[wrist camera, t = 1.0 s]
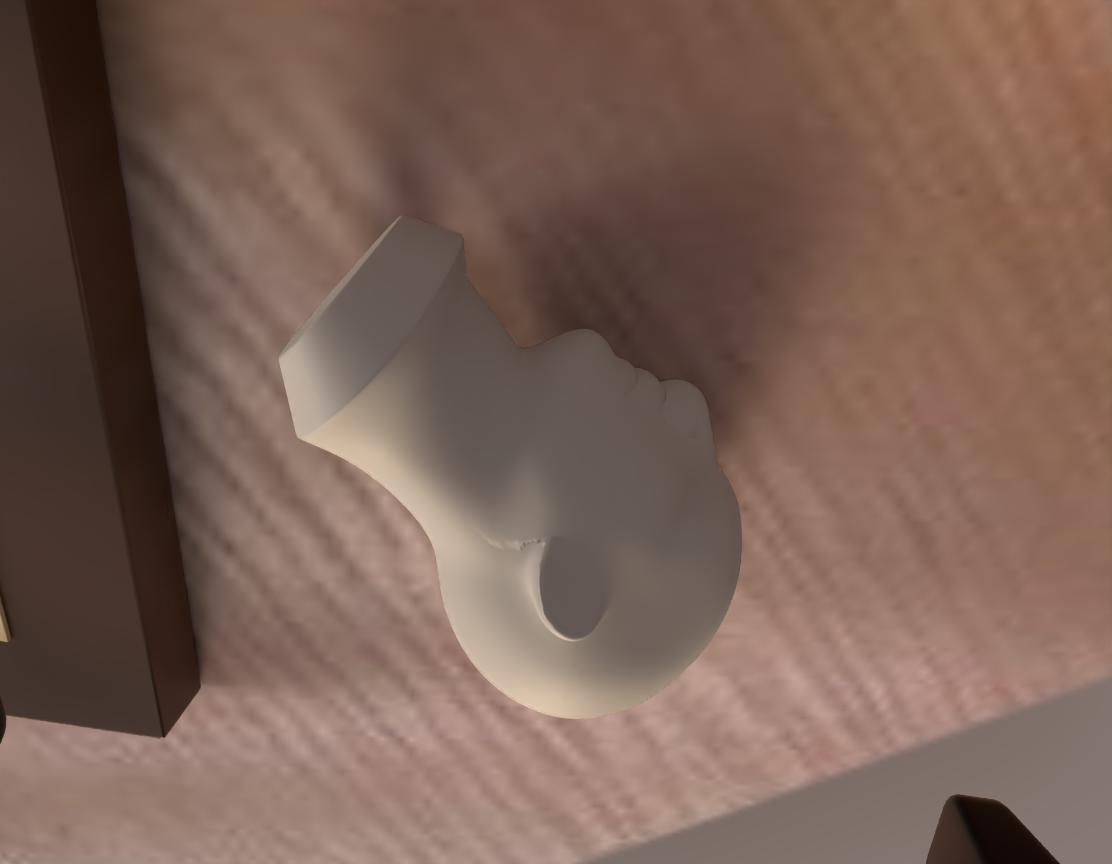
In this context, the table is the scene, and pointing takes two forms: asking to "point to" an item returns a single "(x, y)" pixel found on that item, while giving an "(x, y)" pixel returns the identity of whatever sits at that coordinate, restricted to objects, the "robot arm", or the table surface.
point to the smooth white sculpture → (525, 477)
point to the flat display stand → (78, 406)
